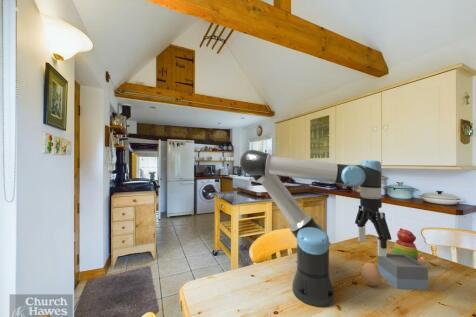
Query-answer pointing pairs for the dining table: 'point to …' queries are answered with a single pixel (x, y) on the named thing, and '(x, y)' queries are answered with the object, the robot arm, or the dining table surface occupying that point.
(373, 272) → the egg
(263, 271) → the dining table surface
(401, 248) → the stacking bear
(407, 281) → the grey square tray
